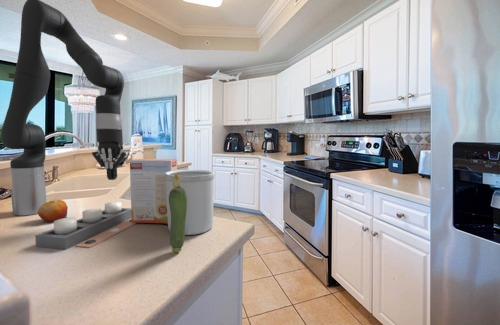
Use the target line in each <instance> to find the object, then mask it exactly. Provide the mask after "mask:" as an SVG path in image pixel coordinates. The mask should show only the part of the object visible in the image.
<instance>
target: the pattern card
mask: <svg viewBox="0 0 500 325" xmlns="http://www.w3.org/2000/svg"><path fill="white" fill-rule="evenodd" d="M138 223H139V222H132V218H131V219H128V220H126V221H124V222H122V223H120V224H118V225H116V226H114V227H112V228H110V229H108V230H106V231H103V232H101V233H99V234H97V235H95V236H93V237H91V238H89V239H87V240H85V241H83V242H81V243H78V244H76V245H74V247H79V248H86V249H89V248H93V247H94V246H96V245H98V244H100V243H102V242H104V241H106V240H108V239H110V238H111V237H113V236H115V235H118V234H119V233H121V232H123V231H125V230H127V229H128V228H131V227H132V226H134V225H136V224H138Z"/></svg>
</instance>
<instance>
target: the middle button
mask: <svg viewBox="0 0 500 325" xmlns="http://www.w3.org/2000/svg"><path fill="white" fill-rule="evenodd" d="M102 211H103V209H101V208H90V209H86V210H83V211H82V212H81V213H82V218H83V223H88V224H89V223H96V222H99V221H101V220H102Z"/></svg>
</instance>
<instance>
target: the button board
mask: <svg viewBox="0 0 500 325" xmlns="http://www.w3.org/2000/svg"><path fill="white" fill-rule="evenodd" d="M131 218H132V216H131V207H128V208H127V207H122V212H121V213H118V214H105V209H104V210H103V209H102V220H101V221H99V222H96V223H89V224H88V223H83V217H82V218H79V219H77V231H75V232H73V233H70V234H65V235H55V234H54V228H51V229H49V230H46V231H44V232H41V233H38V234H36V235H34V236H35V248H47V249H56V250H68V249H70V248H72V247H75V245H77V244H79V243H81V242H83V241H85V240H88V239H90V238H92V237H94V236H96V235H98V234H100V233H102V232H104V231H106V230H108V229H110V228H112V227H115V226H117V225H119V224H121V223H123V222H125V221H127V220H129V219H131Z"/></svg>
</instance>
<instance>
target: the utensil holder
mask: <svg viewBox="0 0 500 325" xmlns="http://www.w3.org/2000/svg"><path fill="white" fill-rule="evenodd" d="M177 172H178V174H179V175H178V176H179V178H180V182H181V186H180V187H182V188H183V189H184V190H185V191H186V194H187V213H186V223H185V236H191V235H192V236H193V235H200V234H203V233H207V232H209V231H210V230H211V229H212V228H213V224H214V192H215V189H214V187H215V183H214V181H215V180H214V179H215V177H216V176H215V175H216V174H215V172H214V171H213V170H209V169H177V171H170V172H166V173H165V177H166V186H167V217H168V224H167V228H168V231H169V232H170V229H171V212H170V206H169V193H170V191H171V190H172V189H173V188H174V187H173V185H172V180H173V177H174V176H175V173H177Z"/></svg>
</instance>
